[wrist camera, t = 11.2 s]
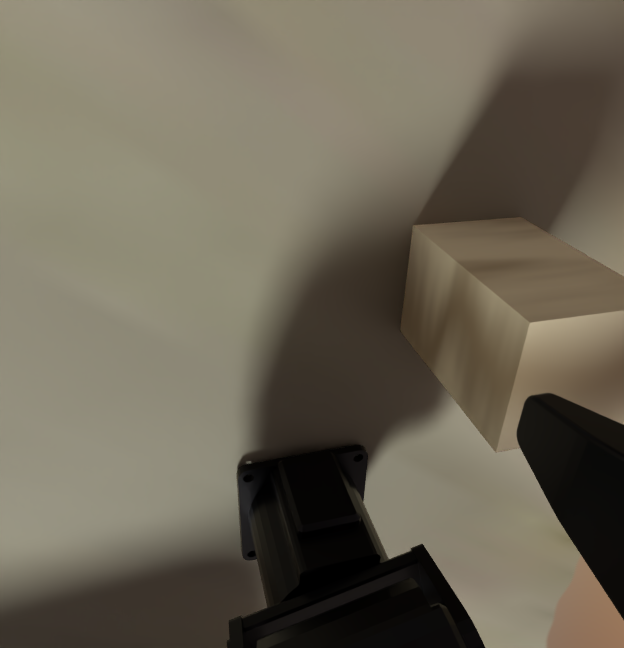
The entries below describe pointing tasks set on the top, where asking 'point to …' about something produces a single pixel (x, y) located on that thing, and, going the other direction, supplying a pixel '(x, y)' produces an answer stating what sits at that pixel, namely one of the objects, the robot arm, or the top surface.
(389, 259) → the top surface
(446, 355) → the birch block
